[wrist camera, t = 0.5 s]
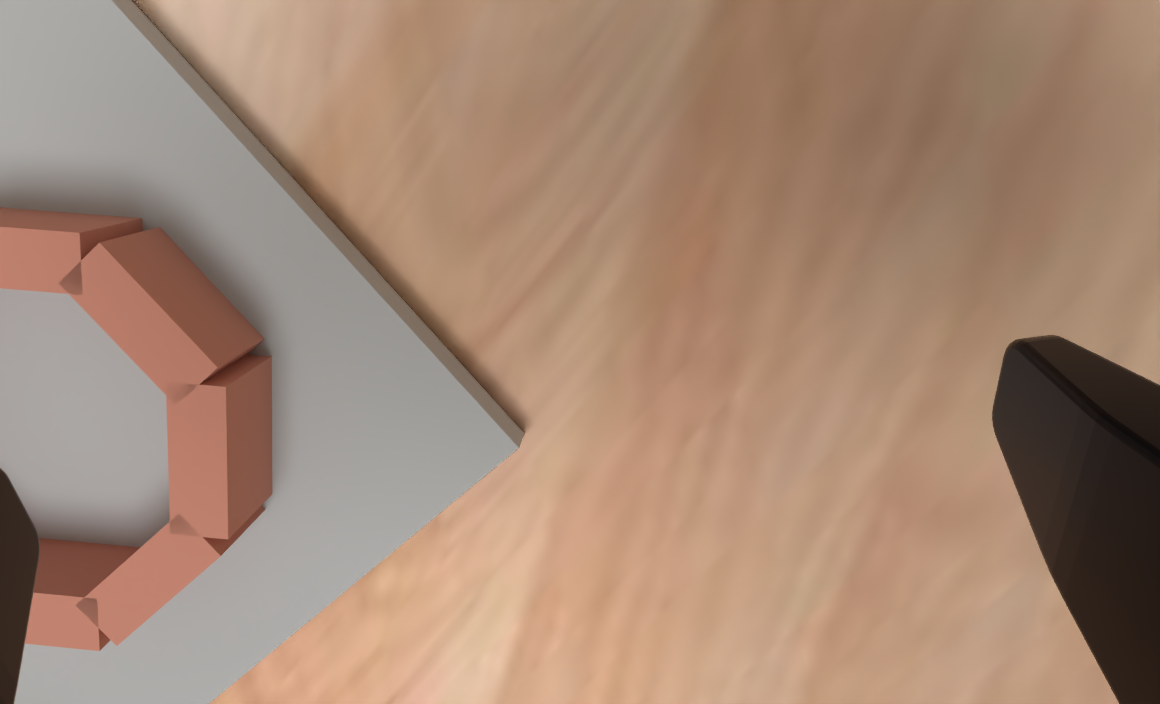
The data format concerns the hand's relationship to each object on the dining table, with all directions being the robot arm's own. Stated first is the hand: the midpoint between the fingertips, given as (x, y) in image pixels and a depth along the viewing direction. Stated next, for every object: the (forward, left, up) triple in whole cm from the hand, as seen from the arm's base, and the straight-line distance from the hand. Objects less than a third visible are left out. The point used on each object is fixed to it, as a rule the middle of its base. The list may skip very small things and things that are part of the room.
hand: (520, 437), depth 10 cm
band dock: (+5, +11, -14) cm, 18 cm away
